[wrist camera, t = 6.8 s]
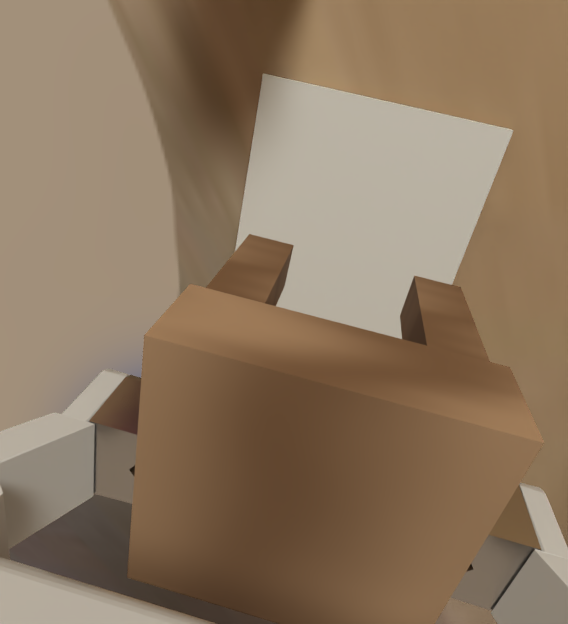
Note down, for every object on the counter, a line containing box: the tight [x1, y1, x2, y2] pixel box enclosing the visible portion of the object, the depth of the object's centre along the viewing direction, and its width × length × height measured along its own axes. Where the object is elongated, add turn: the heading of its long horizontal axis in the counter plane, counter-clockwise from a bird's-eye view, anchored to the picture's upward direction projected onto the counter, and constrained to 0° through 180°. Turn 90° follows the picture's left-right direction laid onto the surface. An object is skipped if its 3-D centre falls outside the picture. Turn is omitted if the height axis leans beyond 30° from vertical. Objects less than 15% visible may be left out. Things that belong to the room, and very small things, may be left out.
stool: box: [127, 234, 544, 624], centre depth 11 cm, size 6×6×6 cm
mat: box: [235, 74, 513, 339], centre depth 26 cm, size 12×12×1 cm
